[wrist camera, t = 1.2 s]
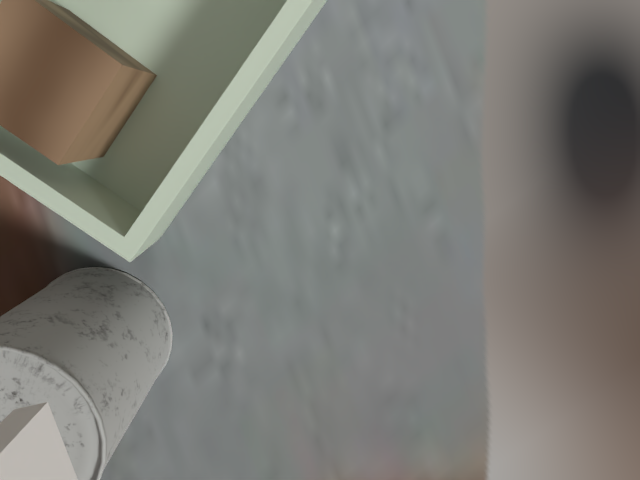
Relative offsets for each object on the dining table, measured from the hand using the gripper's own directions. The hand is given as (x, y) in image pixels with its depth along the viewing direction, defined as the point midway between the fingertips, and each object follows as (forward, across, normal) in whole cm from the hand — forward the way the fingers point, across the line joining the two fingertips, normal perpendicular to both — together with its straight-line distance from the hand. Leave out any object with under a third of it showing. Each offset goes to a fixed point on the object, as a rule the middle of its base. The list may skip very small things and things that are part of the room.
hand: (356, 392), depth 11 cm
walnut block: (+22, -12, +11) cm, 28 cm away
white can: (+23, -17, -5) cm, 29 cm away
